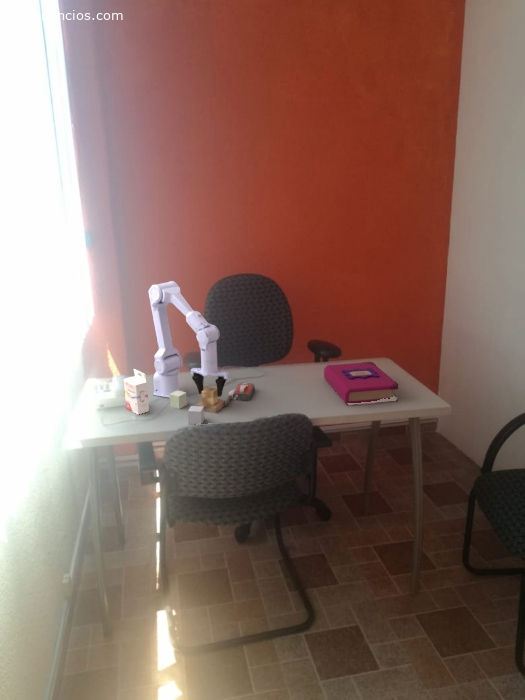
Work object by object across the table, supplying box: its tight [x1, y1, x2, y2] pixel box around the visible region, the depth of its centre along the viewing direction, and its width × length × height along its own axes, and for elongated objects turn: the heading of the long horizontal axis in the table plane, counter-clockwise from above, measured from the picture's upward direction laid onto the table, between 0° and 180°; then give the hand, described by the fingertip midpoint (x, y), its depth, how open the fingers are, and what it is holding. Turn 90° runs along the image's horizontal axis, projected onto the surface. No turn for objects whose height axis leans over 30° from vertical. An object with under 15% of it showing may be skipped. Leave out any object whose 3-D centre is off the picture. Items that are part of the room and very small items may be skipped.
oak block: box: [201, 386, 219, 406], centre depth 203 cm, size 4×4×5 cm
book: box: [323, 361, 399, 405], centre depth 219 cm, size 21×28×8 cm
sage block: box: [168, 390, 188, 410], centre depth 206 cm, size 4×4×5 cm
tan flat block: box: [195, 398, 226, 414], centre depth 205 cm, size 8×8×2 cm
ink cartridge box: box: [123, 368, 150, 416], centre depth 201 cm, size 9×5×15 cm, turn 44°
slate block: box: [187, 405, 205, 425], centre depth 193 cm, size 4×4×5 cm
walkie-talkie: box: [224, 382, 255, 407], centre depth 213 cm, size 9×4×20 cm
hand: (210, 394), depth 204 cm, fingers open, 7 cm apart
